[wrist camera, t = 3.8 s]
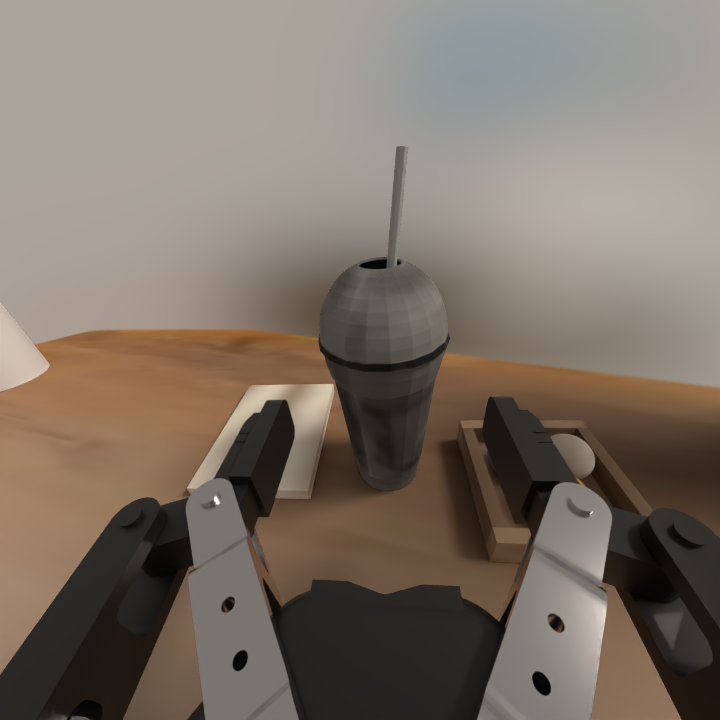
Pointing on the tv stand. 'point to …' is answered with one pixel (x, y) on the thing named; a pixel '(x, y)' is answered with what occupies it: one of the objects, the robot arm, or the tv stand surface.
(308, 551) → the tv stand surface
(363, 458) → the beverage cup
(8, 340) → the cylindrical container
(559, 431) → the marble tray
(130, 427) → the tv stand surface
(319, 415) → the ash board
